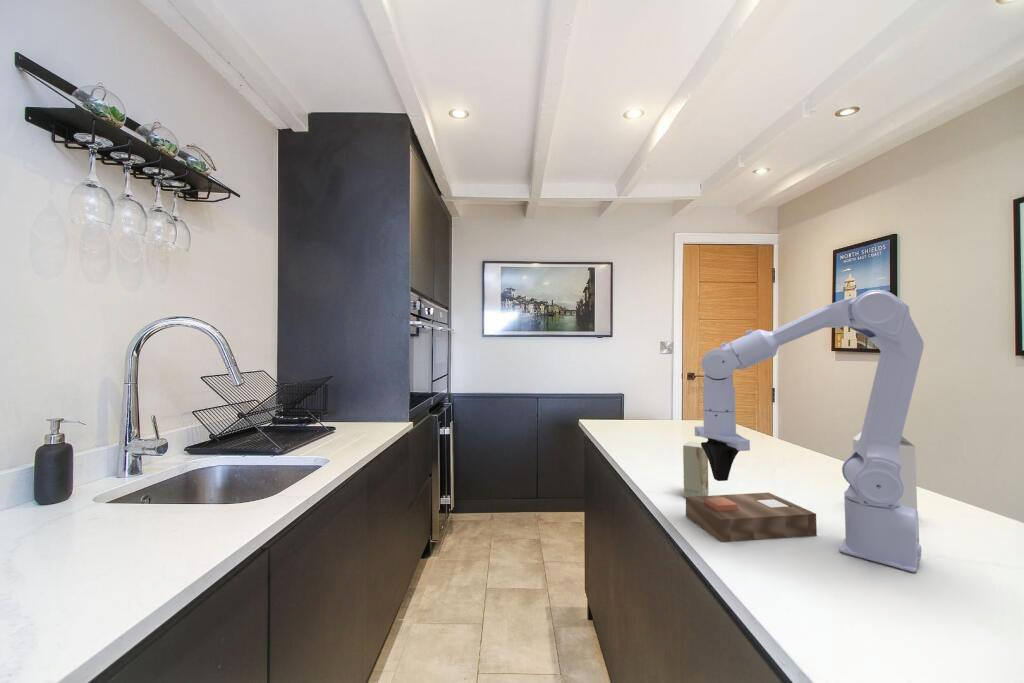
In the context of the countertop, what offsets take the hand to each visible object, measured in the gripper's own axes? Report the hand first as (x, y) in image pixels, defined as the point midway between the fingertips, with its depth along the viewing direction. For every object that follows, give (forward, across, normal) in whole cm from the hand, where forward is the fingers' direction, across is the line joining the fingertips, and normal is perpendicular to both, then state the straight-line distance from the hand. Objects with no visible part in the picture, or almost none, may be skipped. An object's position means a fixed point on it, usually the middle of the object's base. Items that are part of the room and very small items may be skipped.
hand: (720, 479), depth 82 cm
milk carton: (+10, -1, +38) cm, 39 cm away
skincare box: (+9, -18, +5) cm, 21 cm away
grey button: (+9, 0, +11) cm, 14 cm away
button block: (+9, 0, +5) cm, 11 cm away
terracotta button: (+8, 0, 0) cm, 8 cm away
